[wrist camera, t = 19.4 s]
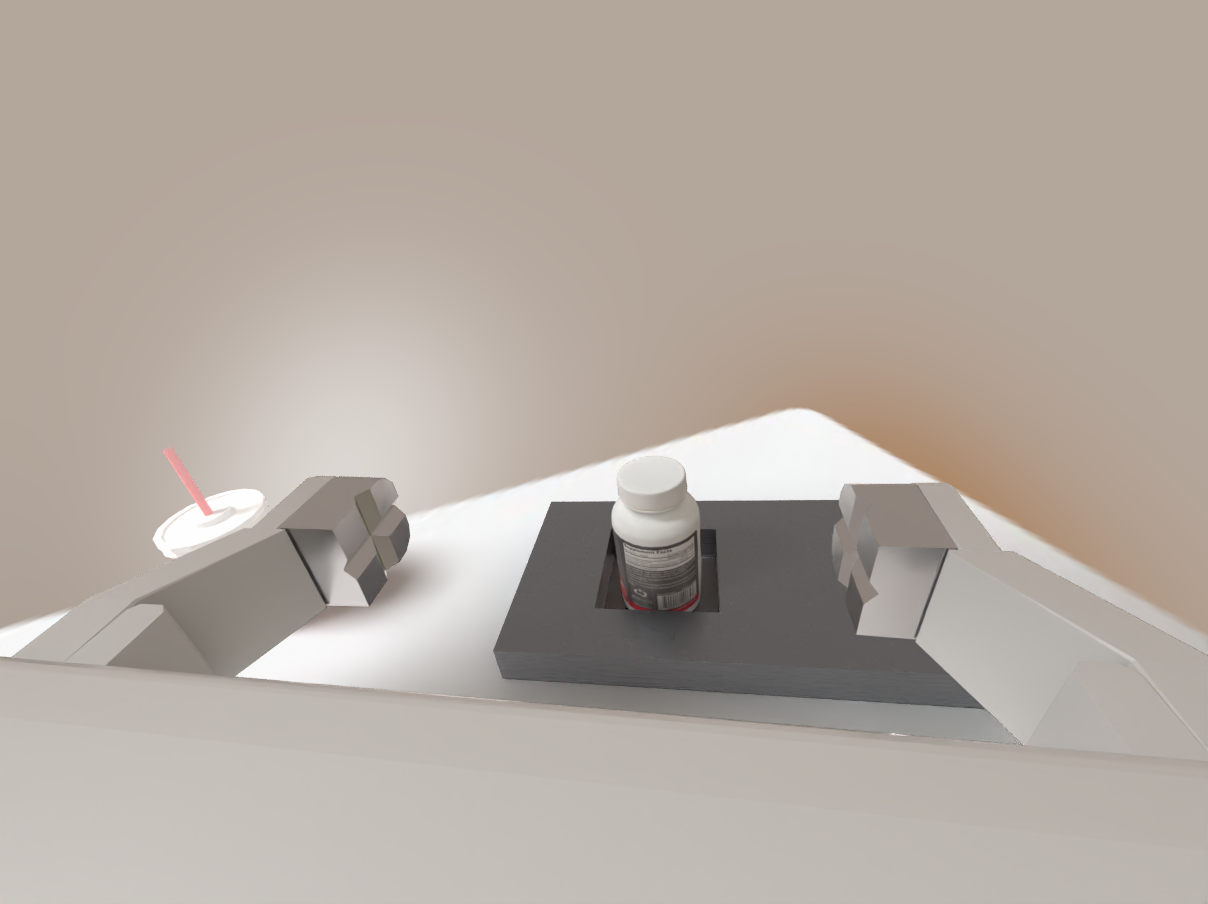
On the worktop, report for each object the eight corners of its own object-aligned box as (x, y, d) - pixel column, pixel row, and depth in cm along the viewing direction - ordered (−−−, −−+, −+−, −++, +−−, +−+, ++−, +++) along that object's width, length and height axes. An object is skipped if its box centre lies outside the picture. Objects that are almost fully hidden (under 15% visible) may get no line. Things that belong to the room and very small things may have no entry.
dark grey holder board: (502, 678, 30) (488, 637, 28) (556, 526, 42) (549, 490, 40) (998, 709, 25) (1020, 662, 23) (901, 527, 37) (910, 486, 35)
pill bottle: (631, 562, 37) (617, 447, 32) (705, 569, 36) (703, 450, 31) (613, 620, 33) (594, 497, 28) (697, 631, 31) (693, 503, 26)
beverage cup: (282, 651, 34) (166, 476, 27) (204, 648, 35) (72, 479, 28) (335, 583, 39) (249, 422, 32) (266, 582, 40) (168, 426, 33)
